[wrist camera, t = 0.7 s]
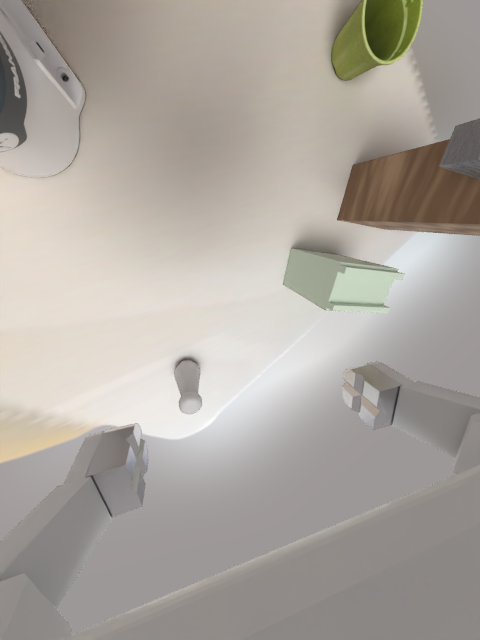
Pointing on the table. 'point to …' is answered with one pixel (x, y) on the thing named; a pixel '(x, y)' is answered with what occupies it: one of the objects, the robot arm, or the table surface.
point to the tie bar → (464, 150)
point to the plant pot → (375, 35)
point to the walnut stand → (412, 194)
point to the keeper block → (339, 281)
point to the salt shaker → (188, 386)
